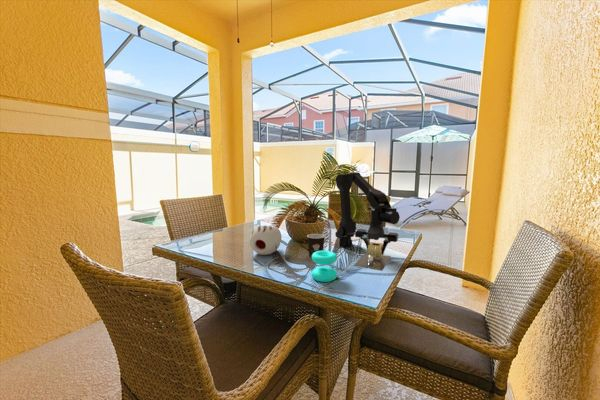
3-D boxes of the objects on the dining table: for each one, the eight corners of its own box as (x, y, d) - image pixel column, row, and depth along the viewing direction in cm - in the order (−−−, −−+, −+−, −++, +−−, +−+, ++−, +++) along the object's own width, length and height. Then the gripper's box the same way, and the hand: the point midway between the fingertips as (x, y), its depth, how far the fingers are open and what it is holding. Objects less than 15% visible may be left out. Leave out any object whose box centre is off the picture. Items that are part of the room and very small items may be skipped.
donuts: (329, 248, 115) (342, 255, 106) (328, 271, 116) (341, 280, 107) (307, 251, 111) (318, 259, 102) (307, 275, 112) (318, 284, 103)
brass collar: (380, 257, 124) (381, 247, 124) (367, 255, 127) (368, 245, 126) (383, 254, 130) (383, 243, 129) (370, 252, 132) (371, 242, 132)
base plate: (382, 274, 113) (382, 261, 112) (353, 269, 118) (353, 256, 118) (390, 259, 130) (391, 248, 130) (365, 255, 136) (365, 244, 135)
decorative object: (287, 248, 147) (286, 221, 145) (274, 260, 129) (274, 229, 127) (260, 246, 151) (259, 219, 149) (244, 257, 133) (243, 227, 131)
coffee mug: (326, 254, 137) (327, 234, 136) (320, 259, 130) (321, 239, 128) (305, 251, 142) (305, 232, 141) (298, 256, 135) (298, 236, 133)
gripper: (351, 221, 123) (351, 255, 125) (395, 225, 115) (393, 261, 117) (358, 217, 133) (357, 248, 135) (399, 220, 125) (397, 254, 127)
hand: (375, 253), depth 128 cm, fingers closed on brass collar, 6 cm apart
